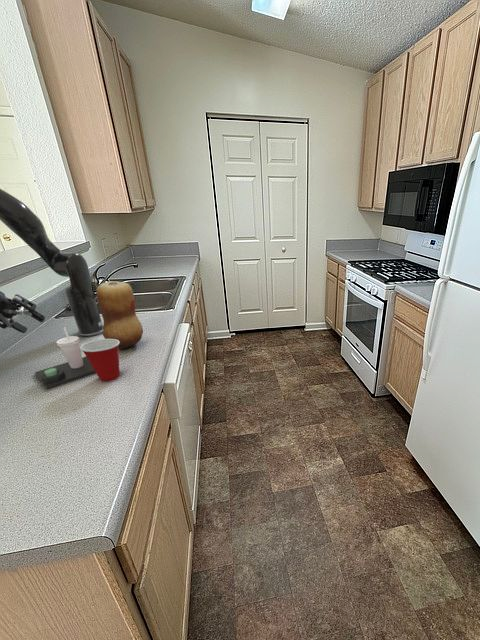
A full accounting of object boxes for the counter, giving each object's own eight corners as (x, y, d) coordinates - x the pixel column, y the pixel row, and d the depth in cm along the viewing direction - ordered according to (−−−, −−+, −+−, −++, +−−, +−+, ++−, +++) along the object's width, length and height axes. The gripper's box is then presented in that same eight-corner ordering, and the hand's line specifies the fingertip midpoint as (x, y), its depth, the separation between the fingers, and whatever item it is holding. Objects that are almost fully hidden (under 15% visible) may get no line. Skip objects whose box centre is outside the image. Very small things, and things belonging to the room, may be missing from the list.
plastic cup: (136, 371, 111) (126, 338, 105) (110, 387, 102) (98, 352, 96) (111, 367, 114) (100, 334, 109) (83, 382, 105) (70, 348, 99)
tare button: (44, 375, 104) (43, 370, 104) (56, 371, 106) (54, 367, 106) (47, 378, 102) (45, 373, 102) (59, 374, 104) (57, 370, 104)
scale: (35, 375, 110) (32, 367, 108) (88, 358, 120) (86, 351, 119) (47, 390, 101) (43, 381, 100) (103, 370, 112) (100, 363, 110)
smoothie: (77, 371, 109) (63, 331, 103) (61, 369, 110) (46, 330, 104) (92, 362, 115) (79, 324, 108) (76, 360, 116) (63, 323, 110)
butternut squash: (142, 351, 124) (125, 285, 113) (104, 356, 122) (82, 289, 111) (149, 337, 136) (134, 277, 125) (114, 341, 134) (95, 279, 123)
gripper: (-1, 274, 98) (53, 309, 110) (-32, 295, 101) (23, 326, 114) (-11, 291, 93) (46, 324, 106) (-43, 312, 97) (16, 342, 109)
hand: (34, 325), depth 110 cm, fingers open, 8 cm apart
